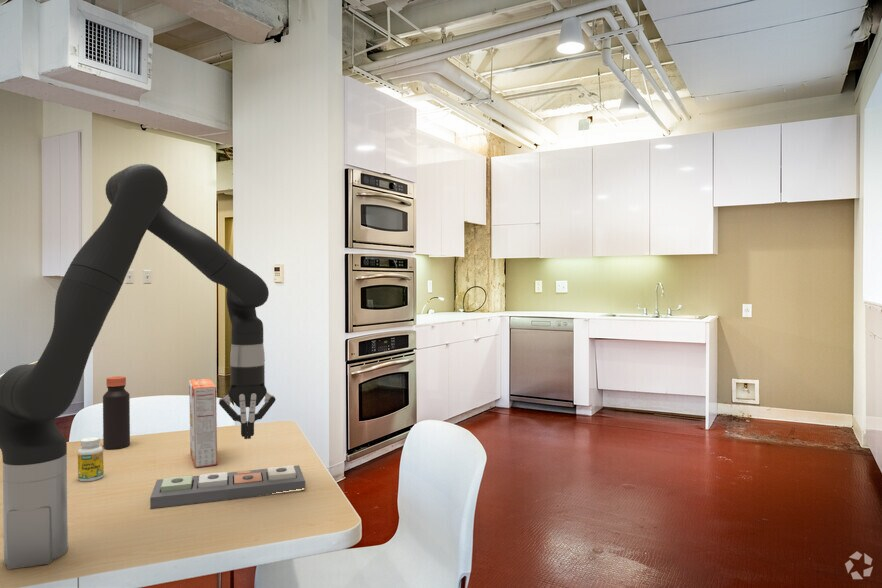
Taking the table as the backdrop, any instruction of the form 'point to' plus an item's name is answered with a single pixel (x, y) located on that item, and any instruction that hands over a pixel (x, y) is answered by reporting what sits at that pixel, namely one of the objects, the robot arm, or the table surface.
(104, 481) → the table surface
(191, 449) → the cracker box
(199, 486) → the key white
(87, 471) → the supplement bottle
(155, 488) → the grey flat board
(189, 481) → the key sage
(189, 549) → the table surface
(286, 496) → the table surface
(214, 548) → the table surface
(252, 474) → the key terracotta
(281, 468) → the key cream
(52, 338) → the robot arm
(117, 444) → the vinegar
